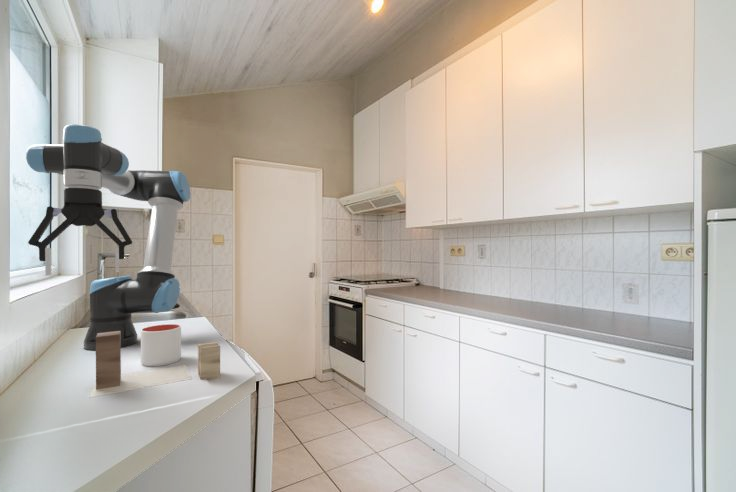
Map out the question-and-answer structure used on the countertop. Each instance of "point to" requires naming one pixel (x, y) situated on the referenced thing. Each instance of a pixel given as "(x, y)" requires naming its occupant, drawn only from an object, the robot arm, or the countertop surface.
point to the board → (146, 380)
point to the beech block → (209, 361)
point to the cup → (160, 345)
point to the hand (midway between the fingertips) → (84, 273)
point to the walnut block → (108, 360)
